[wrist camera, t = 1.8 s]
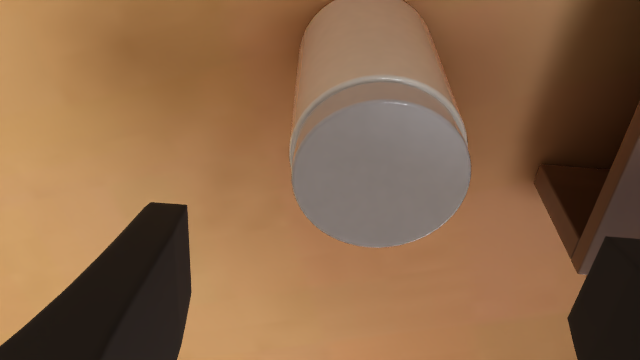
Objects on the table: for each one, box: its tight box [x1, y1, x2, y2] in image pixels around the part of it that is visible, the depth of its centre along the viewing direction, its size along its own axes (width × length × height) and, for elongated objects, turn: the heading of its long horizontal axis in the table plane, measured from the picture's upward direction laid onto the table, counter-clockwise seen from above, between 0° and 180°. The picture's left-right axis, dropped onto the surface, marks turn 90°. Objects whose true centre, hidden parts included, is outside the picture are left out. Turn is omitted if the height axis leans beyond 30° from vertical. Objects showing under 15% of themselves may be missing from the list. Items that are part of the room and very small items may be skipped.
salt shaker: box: [289, 0, 471, 248], centre depth 15 cm, size 4×4×6 cm
